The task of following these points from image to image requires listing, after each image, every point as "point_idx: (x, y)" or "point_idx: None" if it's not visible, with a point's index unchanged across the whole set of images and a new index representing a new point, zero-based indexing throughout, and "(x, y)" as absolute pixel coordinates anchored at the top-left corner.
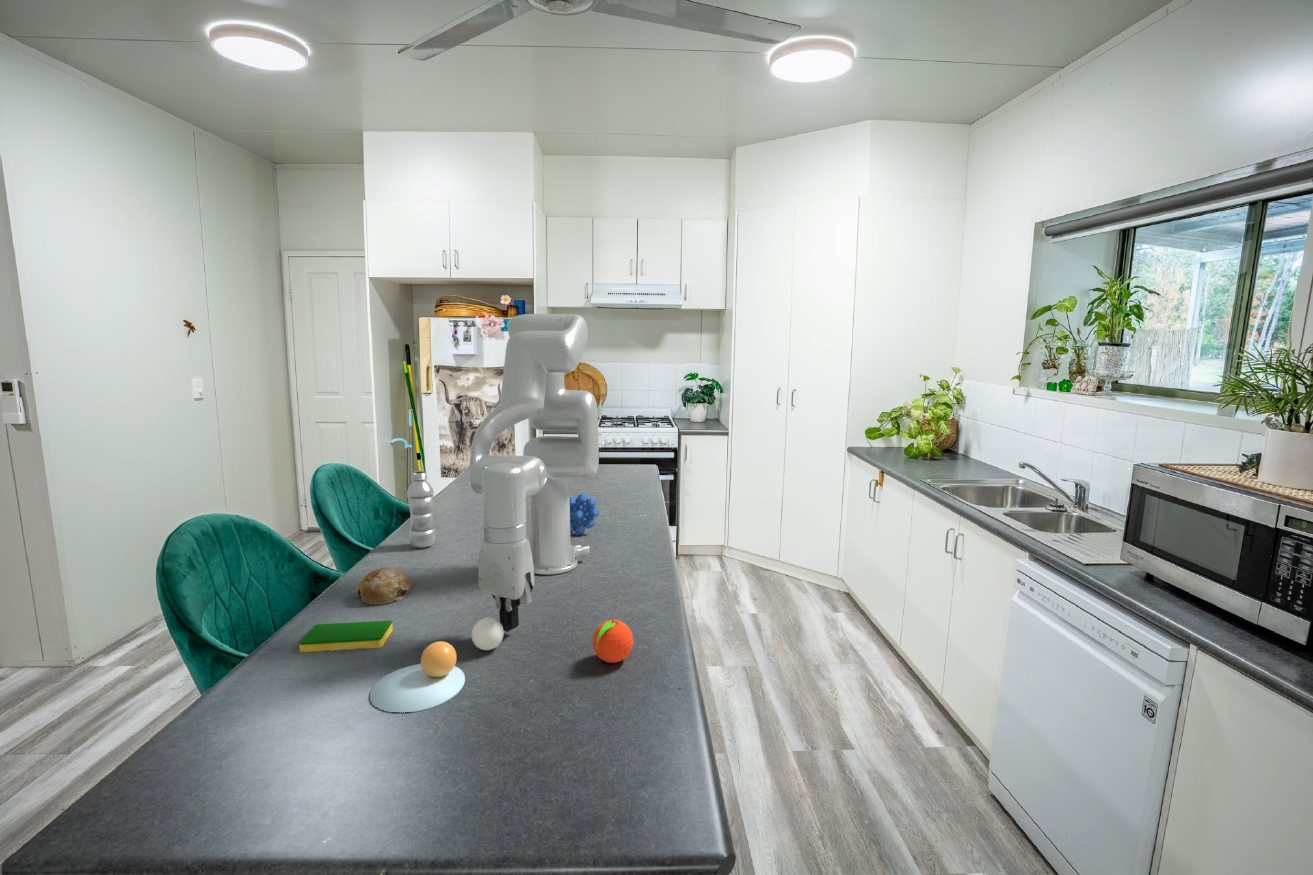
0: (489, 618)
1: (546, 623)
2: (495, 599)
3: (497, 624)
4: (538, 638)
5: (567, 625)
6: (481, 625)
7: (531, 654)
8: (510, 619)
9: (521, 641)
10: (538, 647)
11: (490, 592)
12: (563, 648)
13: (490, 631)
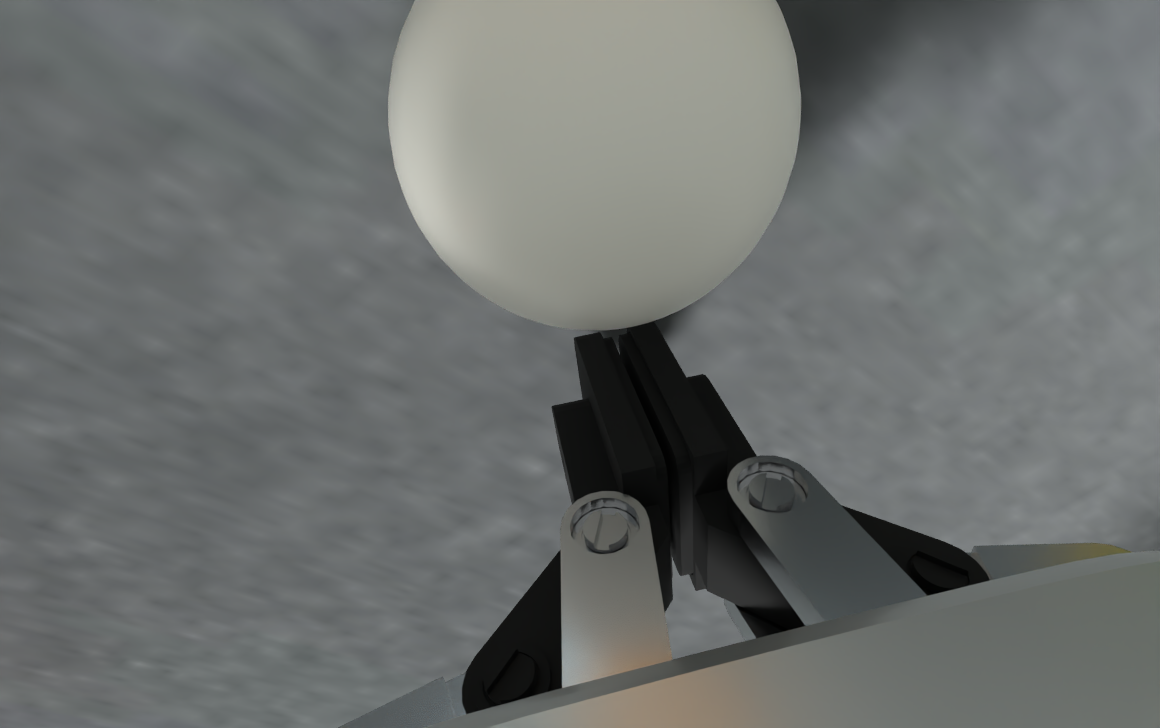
0: (639, 242)
1: (544, 566)
2: (861, 534)
3: (477, 255)
4: (397, 456)
5: (423, 625)
6: (601, 31)
7: (165, 298)
8: (581, 440)
9: (449, 358)
10: (256, 394)
11: (982, 615)
12: (113, 499)
13: (427, 86)
